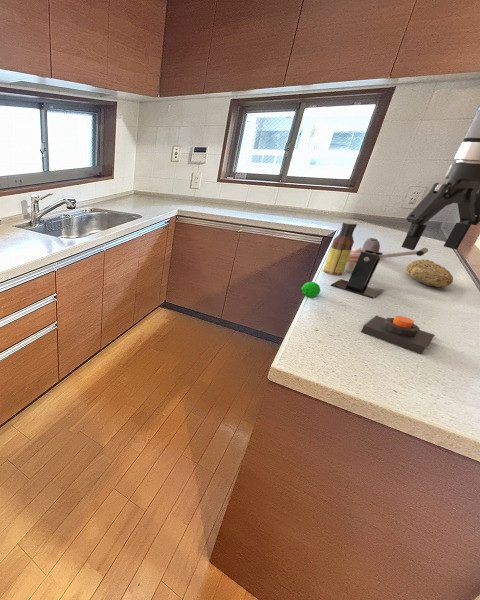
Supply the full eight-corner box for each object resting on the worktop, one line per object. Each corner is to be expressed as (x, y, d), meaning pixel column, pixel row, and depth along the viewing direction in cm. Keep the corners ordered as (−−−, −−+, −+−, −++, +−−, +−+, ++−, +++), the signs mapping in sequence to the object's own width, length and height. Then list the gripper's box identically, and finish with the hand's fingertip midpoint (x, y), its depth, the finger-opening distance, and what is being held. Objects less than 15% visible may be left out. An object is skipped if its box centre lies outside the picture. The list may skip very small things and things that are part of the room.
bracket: (380, 294, 109) (400, 255, 103) (371, 300, 104) (391, 260, 98) (339, 282, 118) (355, 245, 112) (329, 287, 113) (345, 249, 107)
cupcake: (358, 278, 122) (369, 253, 117) (330, 270, 128) (340, 246, 124) (367, 273, 126) (379, 249, 122) (340, 266, 133) (350, 242, 129)
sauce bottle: (341, 273, 125) (362, 222, 117) (341, 278, 121) (364, 225, 112) (321, 270, 129) (340, 220, 120) (321, 274, 124) (341, 223, 115)
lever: (428, 253, 96) (427, 246, 96) (424, 257, 94) (423, 248, 93) (367, 260, 108) (366, 253, 108) (361, 263, 105) (360, 256, 105)
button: (412, 326, 82) (415, 320, 82) (408, 330, 81) (412, 324, 80) (394, 320, 85) (397, 314, 84) (390, 324, 83) (393, 318, 82)
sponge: (402, 272, 132) (397, 274, 118) (417, 255, 128) (414, 254, 115) (443, 289, 124) (443, 292, 110) (460, 271, 120) (462, 272, 107)
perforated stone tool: (377, 261, 140) (384, 246, 137) (362, 259, 143) (368, 243, 140) (374, 253, 151) (380, 238, 148) (359, 250, 154) (366, 236, 151)
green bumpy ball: (319, 296, 106) (324, 283, 104) (315, 300, 103) (320, 287, 101) (301, 291, 109) (306, 278, 107) (297, 295, 106) (302, 282, 104)
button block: (430, 342, 83) (438, 328, 81) (420, 354, 77) (429, 341, 76) (372, 322, 91) (379, 309, 90) (360, 332, 86) (366, 319, 84)
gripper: (496, 162, 82) (451, 243, 92) (414, 160, 79) (375, 244, 88) (537, 164, 76) (484, 251, 85) (449, 162, 72) (403, 253, 82)
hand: (428, 248), depth 87 cm, fingers open, 13 cm apart
